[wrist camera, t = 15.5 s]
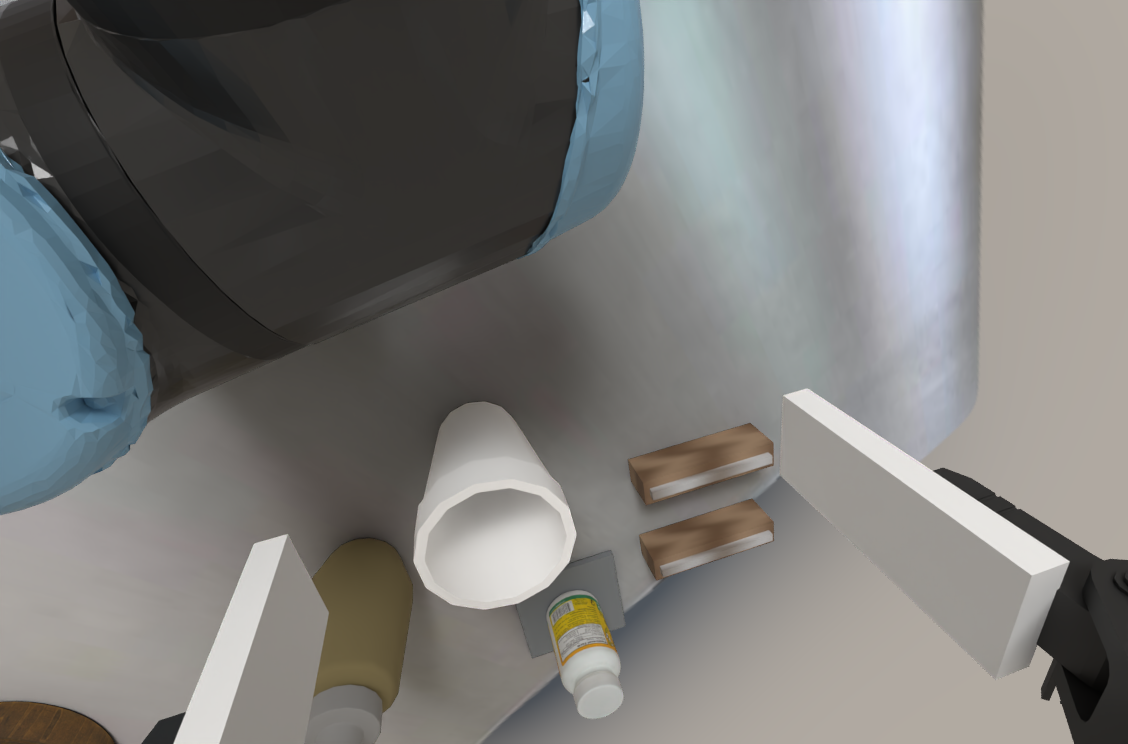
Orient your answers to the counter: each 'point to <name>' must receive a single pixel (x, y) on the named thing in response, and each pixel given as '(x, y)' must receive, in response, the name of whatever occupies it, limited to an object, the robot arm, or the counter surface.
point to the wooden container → (47, 725)
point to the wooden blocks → (692, 471)
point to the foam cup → (489, 514)
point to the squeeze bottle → (359, 641)
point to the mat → (578, 575)
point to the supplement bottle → (585, 653)
